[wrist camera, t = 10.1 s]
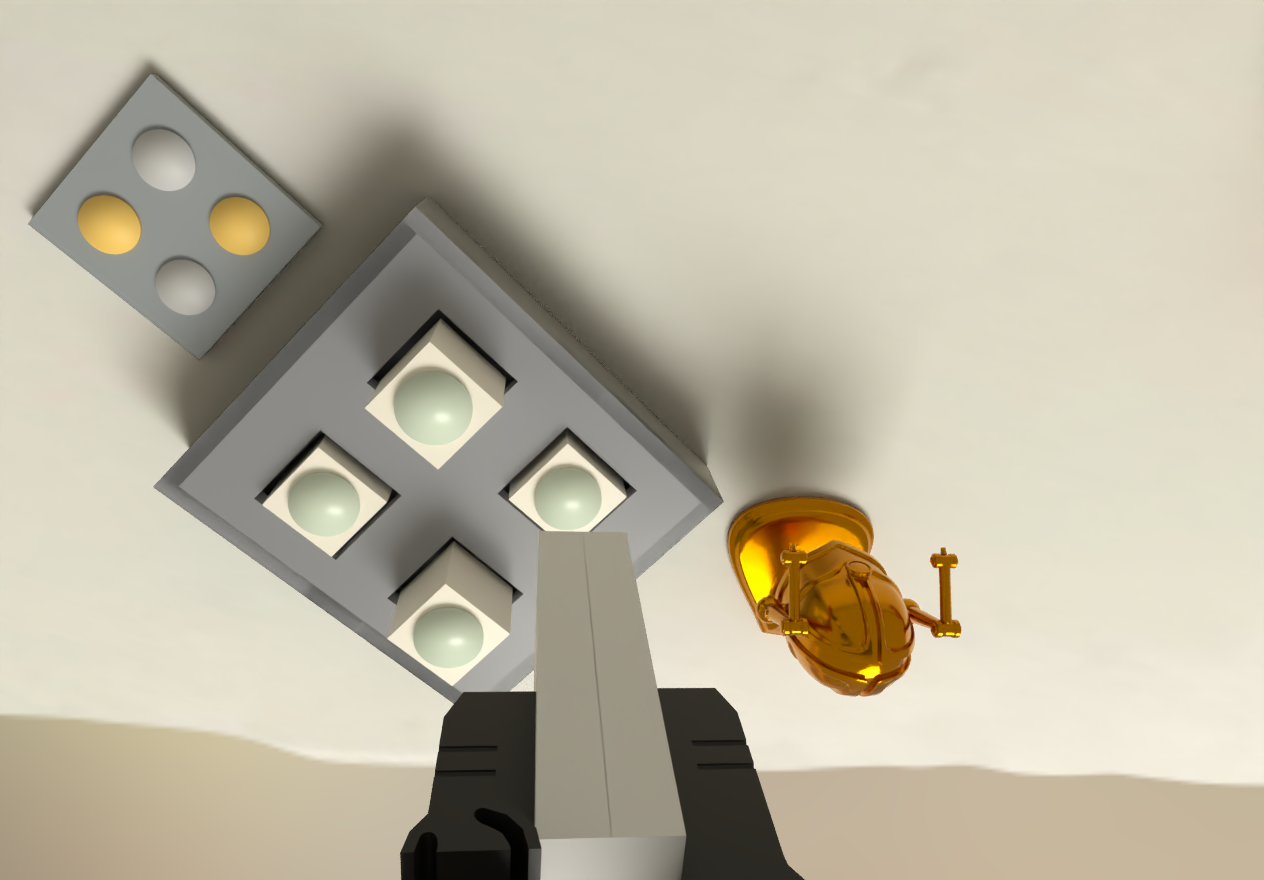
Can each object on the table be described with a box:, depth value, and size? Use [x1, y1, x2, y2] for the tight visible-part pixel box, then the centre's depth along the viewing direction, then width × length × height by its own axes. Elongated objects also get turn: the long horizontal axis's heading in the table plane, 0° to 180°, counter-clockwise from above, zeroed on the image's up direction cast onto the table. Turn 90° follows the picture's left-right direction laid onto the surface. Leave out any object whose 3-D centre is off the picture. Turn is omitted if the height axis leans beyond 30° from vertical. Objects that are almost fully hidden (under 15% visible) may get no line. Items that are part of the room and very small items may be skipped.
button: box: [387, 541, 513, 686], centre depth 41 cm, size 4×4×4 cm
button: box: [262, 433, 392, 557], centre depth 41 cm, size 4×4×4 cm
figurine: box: [727, 496, 961, 696], centre depth 44 cm, size 8×11×12 cm
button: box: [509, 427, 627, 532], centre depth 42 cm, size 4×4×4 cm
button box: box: [153, 196, 724, 703], centre depth 43 cm, size 20×18×4 cm
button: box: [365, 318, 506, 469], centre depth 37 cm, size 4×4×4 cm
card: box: [28, 74, 323, 359], centre depth 39 cm, size 9×9×1 cm
